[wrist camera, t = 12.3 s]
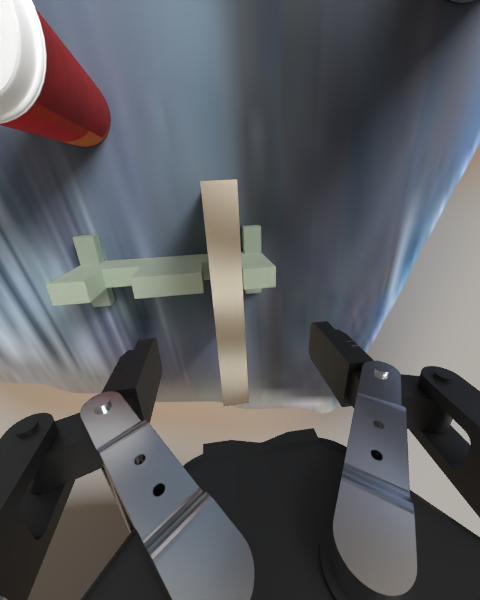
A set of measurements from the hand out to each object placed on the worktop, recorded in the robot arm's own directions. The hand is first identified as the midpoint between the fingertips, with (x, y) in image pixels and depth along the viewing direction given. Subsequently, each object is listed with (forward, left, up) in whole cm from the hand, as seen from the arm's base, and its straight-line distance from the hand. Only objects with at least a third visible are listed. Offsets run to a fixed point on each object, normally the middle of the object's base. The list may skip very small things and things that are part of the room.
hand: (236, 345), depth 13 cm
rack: (0, -5, -19) cm, 20 cm away
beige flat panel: (0, 0, -19) cm, 19 cm away
